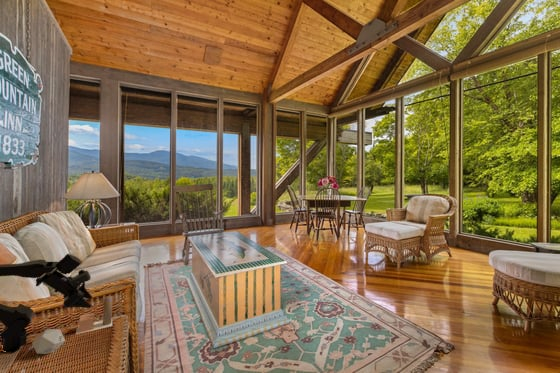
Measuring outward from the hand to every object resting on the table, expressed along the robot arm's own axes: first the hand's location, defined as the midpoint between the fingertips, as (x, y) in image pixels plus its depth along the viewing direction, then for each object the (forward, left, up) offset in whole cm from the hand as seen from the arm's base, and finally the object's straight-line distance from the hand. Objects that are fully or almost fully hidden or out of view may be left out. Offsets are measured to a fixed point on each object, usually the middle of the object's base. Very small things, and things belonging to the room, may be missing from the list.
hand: (91, 302), depth 110 cm
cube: (-1, -1, -11) cm, 11 cm away
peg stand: (+2, +1, -12) cm, 12 cm away
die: (-4, -15, -13) cm, 20 cm away
